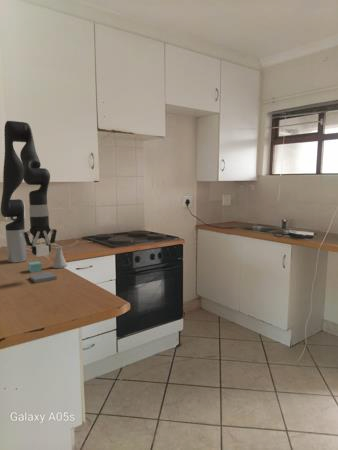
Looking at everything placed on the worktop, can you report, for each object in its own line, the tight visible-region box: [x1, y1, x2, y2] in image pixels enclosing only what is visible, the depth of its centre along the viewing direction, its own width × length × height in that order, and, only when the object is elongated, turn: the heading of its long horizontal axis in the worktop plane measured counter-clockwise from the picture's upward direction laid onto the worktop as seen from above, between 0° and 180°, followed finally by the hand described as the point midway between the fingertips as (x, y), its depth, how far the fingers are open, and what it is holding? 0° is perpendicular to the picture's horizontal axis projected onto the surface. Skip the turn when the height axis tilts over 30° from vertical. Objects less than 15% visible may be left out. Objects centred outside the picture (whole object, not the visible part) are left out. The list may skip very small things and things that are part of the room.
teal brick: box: [27, 261, 43, 274], centre depth 157 cm, size 5×5×4 cm
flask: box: [52, 246, 68, 269], centre depth 164 cm, size 7×7×10 cm
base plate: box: [28, 271, 57, 284], centre depth 144 cm, size 9×9×2 cm
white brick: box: [34, 243, 50, 258], centre depth 142 cm, size 5×5×4 cm
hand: (41, 253), depth 143 cm, fingers closed on white brick, 5 cm apart
